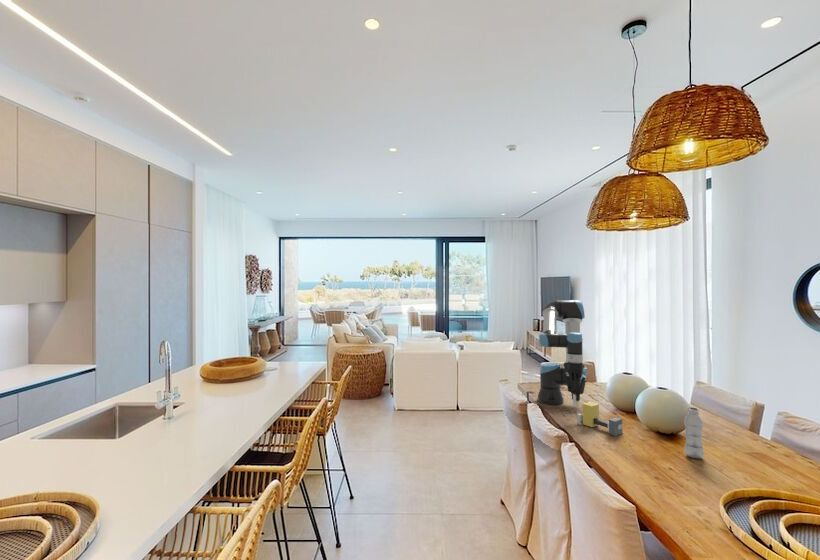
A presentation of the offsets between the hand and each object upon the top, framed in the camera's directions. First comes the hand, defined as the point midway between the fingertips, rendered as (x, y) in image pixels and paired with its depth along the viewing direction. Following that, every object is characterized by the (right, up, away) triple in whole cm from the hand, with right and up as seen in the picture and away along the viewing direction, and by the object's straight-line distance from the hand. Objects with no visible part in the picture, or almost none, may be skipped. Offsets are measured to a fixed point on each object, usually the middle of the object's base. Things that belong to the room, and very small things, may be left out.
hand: (575, 406), depth 202 cm
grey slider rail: (+7, -7, -11) cm, 15 cm away
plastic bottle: (+30, -7, -44) cm, 54 cm away
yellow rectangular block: (+5, -8, -7) cm, 11 cm away
